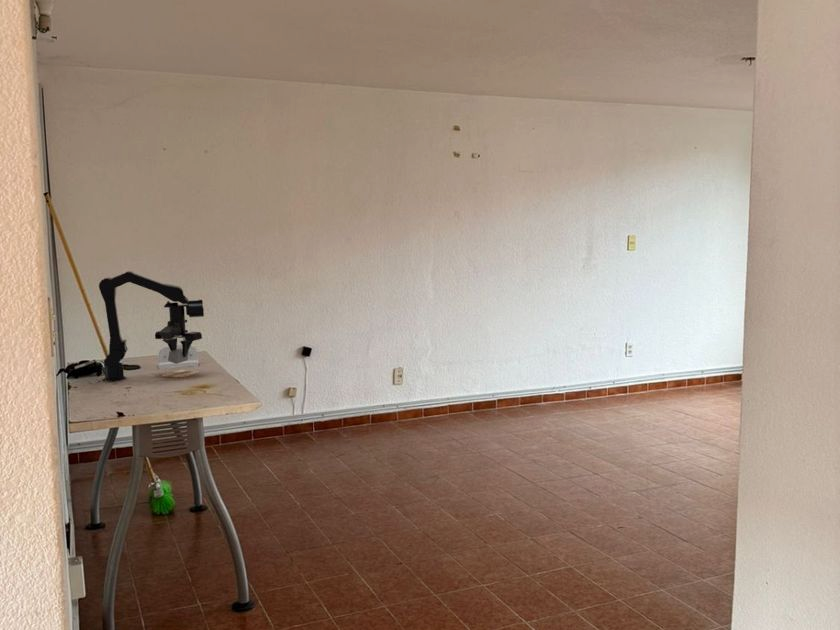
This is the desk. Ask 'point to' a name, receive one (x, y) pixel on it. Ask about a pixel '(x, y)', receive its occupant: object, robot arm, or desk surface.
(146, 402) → the desk surface
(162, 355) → the hinge
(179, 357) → the plug
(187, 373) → the coaster
